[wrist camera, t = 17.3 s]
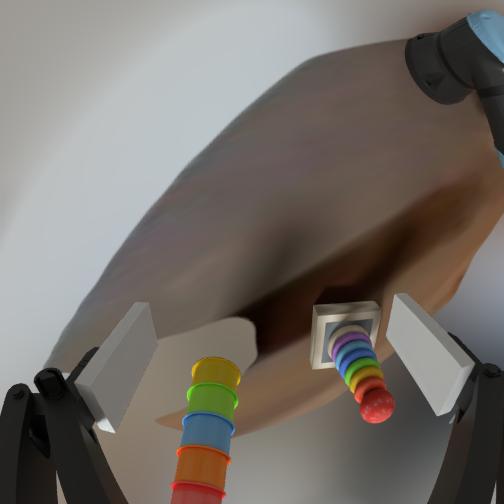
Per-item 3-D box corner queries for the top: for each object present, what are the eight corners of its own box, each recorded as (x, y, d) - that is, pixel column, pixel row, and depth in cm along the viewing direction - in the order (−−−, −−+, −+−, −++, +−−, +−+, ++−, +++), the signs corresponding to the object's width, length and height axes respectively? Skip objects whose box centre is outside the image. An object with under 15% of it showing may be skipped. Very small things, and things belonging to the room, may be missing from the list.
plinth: (373, 300, 48) (382, 310, 44) (364, 351, 52) (370, 362, 48) (313, 304, 48) (318, 316, 45) (309, 356, 52) (312, 369, 48)
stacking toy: (318, 352, 47) (341, 432, 29) (340, 317, 45) (378, 393, 27) (352, 362, 48) (383, 435, 30) (374, 329, 45) (418, 399, 28)
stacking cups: (251, 374, 53) (247, 531, 20) (219, 396, 56) (200, 536, 23) (212, 346, 51) (178, 513, 18) (182, 371, 54) (139, 516, 21)
